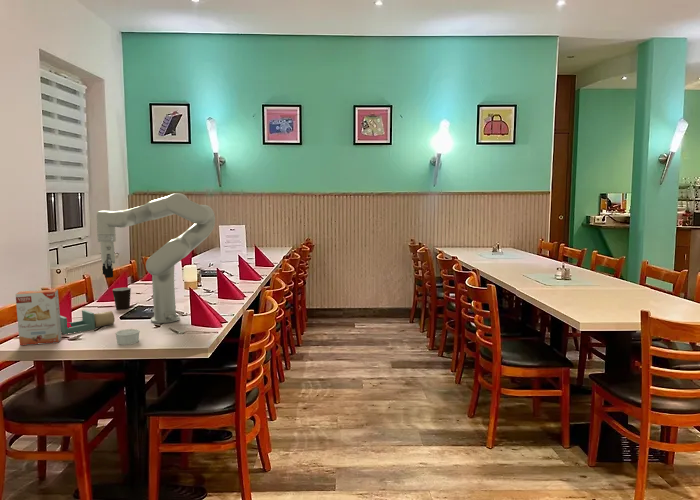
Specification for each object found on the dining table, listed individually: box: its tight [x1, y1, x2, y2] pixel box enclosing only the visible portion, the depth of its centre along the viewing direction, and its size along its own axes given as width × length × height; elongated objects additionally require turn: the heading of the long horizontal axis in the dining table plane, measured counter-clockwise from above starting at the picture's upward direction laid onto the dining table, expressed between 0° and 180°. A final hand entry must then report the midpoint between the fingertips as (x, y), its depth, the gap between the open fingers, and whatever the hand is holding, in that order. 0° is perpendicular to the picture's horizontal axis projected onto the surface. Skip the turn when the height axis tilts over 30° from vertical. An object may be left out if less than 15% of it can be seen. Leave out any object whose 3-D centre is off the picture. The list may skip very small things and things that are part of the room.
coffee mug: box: [112, 287, 132, 311], centre depth 281 cm, size 12×9×10 cm
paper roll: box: [94, 310, 116, 328], centre depth 245 cm, size 8×6×6 cm
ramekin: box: [114, 328, 140, 346], centre depth 218 cm, size 9×9×4 cm
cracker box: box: [15, 289, 62, 346], centre depth 219 cm, size 14×6×21 cm, turn 106°
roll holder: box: [60, 309, 96, 335], centre depth 238 cm, size 10×12×7 cm
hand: (107, 275), depth 249 cm, fingers open, 9 cm apart
